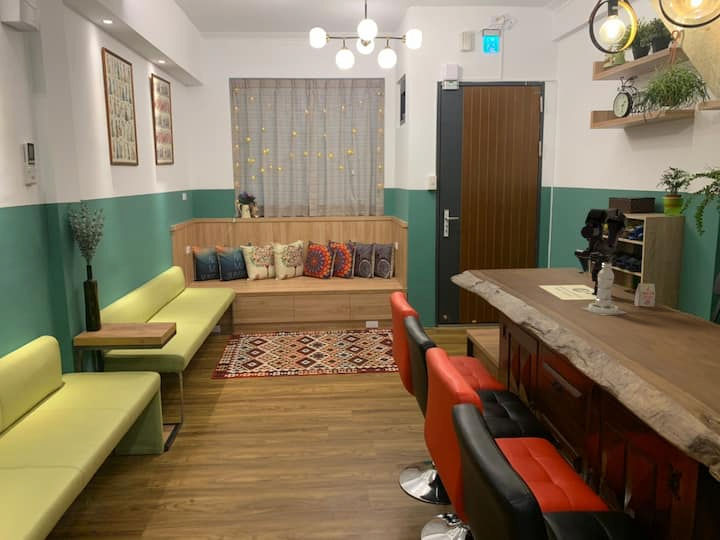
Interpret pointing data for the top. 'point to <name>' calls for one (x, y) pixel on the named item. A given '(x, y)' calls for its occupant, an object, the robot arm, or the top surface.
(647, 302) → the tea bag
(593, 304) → the bottle holder
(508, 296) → the top surface
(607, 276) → the plastic bottle
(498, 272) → the top surface
